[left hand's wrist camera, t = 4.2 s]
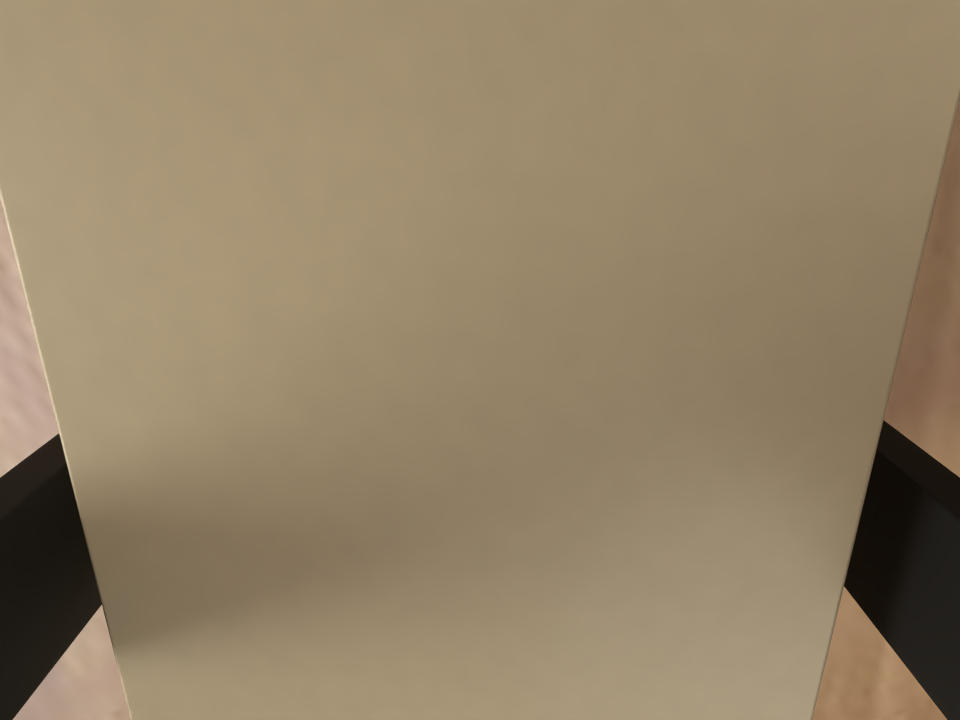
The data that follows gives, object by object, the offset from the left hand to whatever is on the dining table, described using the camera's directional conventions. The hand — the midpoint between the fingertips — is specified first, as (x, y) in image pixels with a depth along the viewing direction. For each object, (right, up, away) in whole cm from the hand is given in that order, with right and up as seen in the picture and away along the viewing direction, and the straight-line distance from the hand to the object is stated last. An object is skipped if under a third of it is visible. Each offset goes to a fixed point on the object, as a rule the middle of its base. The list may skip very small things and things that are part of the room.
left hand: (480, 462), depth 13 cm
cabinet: (0, +8, +3) cm, 8 cm away
